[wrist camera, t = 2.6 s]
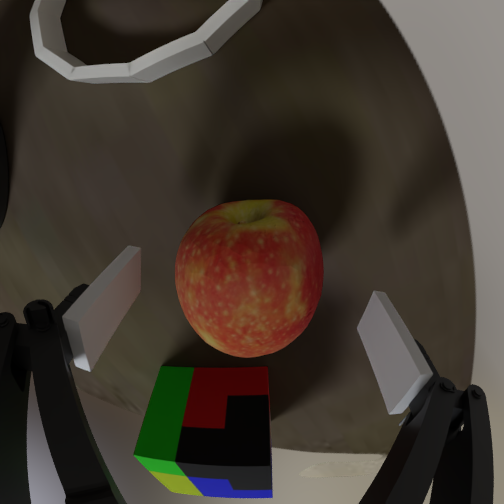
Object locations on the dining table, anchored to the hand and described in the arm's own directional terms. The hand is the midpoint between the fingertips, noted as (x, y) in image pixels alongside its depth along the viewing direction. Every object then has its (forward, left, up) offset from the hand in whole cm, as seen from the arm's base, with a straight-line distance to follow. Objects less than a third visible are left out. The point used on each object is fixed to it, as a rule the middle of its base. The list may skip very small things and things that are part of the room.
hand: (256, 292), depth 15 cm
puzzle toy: (0, -17, -5) cm, 17 cm away
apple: (0, 0, -5) cm, 5 cm away
